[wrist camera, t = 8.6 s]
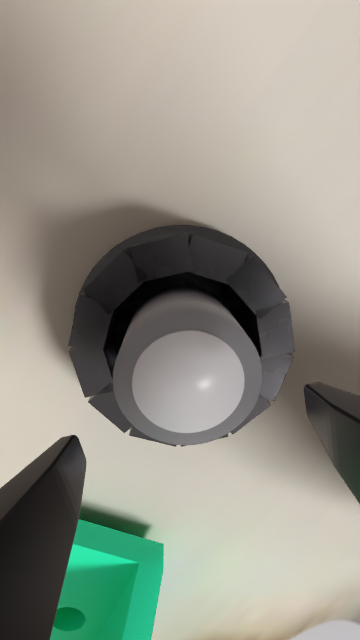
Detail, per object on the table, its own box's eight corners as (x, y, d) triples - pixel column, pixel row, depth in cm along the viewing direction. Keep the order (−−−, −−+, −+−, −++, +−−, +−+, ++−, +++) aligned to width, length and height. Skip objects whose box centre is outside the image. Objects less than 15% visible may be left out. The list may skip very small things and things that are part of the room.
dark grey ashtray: (268, 202, 15) (289, 197, 12) (293, 399, 18) (313, 427, 15) (46, 253, 15) (22, 258, 13) (110, 438, 18) (101, 471, 16)
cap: (223, 273, 15) (252, 295, 10) (241, 370, 17) (273, 432, 12) (116, 297, 15) (92, 331, 10) (143, 392, 17) (133, 461, 12)
